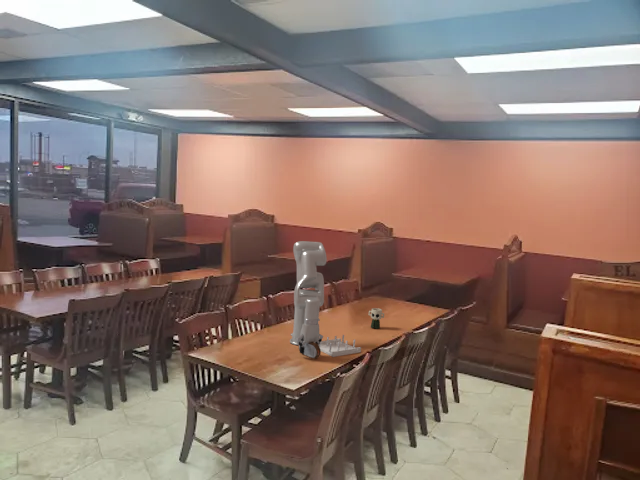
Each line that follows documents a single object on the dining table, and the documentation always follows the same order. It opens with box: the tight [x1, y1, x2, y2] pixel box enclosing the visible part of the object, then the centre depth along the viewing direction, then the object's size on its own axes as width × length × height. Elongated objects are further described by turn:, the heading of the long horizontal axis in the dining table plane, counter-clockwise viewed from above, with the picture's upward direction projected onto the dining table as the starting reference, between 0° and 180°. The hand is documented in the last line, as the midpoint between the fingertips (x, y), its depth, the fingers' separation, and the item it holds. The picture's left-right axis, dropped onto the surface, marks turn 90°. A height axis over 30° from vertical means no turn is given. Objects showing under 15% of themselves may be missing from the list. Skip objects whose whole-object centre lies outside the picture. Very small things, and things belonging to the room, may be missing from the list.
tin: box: [298, 341, 322, 360], centre depth 280 cm, size 15×3×8 cm, turn 45°
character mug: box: [368, 307, 385, 330], centre depth 350 cm, size 11×7×13 cm, turn 68°
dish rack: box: [314, 334, 362, 358], centre depth 296 cm, size 19×20×6 cm
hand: (308, 352), depth 281 cm, fingers open, 9 cm apart
